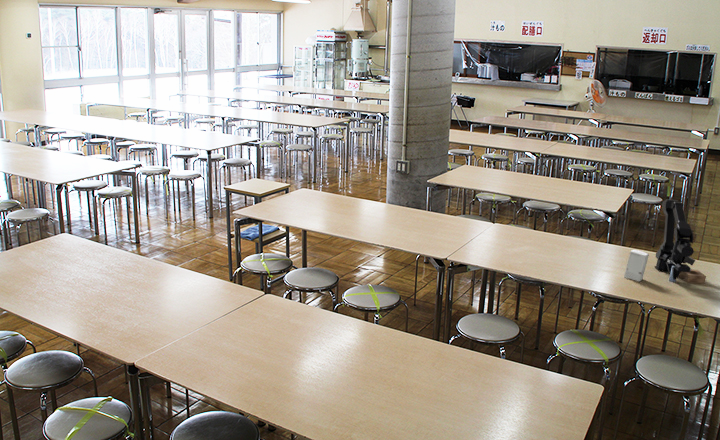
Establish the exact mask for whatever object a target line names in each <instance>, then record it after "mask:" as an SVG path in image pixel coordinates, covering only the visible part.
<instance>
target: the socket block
mask: <svg viewBox="0 0 720 440" xmlns="http://www.w3.org/2000/svg"><path fill="white" fill-rule="evenodd" d="M678 277H680V278H681V279H682V280H683V281H685V282H686V283H690V284H691V283H694V284H706V283H705V282H706V279H707V276H706V275H705V274H703V273H702V272H701V271H700V270H698V269H692V268H691V270H690V272H681V273H680V274H679V275H678Z"/></svg>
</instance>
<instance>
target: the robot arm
mask: <svg viewBox="0 0 720 440" xmlns="http://www.w3.org/2000/svg"><path fill="white" fill-rule="evenodd" d="M661 206H662V212H663V214H664V215H665V220H664V234H663V242H662V243H661V244H660V245H659V249H658V250H657V251H656V253H655V258H656V259H657V260H656V265H654V268H655V269H656V270H657V271H658V272H667V273H668V274H669V275H670V273H671V268H672V273H673V279H674V280H675V279H676V280H677V278H678V277H679V274H680V273H681V272H690V270H691V269H692V268H691V267H690V266H693V265H695V262H696V259H694V258H693V257H692V255H693V254H694V251H695V250H694V248H693V247H692V245H691V244H693V243H694V239H695V238H694V233H693V232H694V231H693V230H692V226H691V225H690V224H689V223H688V222H687V219H686V215H685V211H684V203H683V202H681V201H679V200H678V199H677V200H676V199H669V198H668V199H667V198H665V200H663V201H662V205H661ZM674 239H675V240H674ZM688 264H689V265H690V266H689V265H688ZM672 266H675V267H672Z"/></svg>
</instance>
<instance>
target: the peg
mask: <svg viewBox="0 0 720 440" xmlns="http://www.w3.org/2000/svg"><path fill="white" fill-rule="evenodd" d="M672 267H675V266H672ZM668 281H669V282H671V283H675V282H676V281H677V278H676V279H675V280H674V279H673V273H672V268H671V273H670V274H669V276H668Z"/></svg>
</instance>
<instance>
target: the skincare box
mask: <svg viewBox="0 0 720 440" xmlns="http://www.w3.org/2000/svg"><path fill="white" fill-rule="evenodd" d="M649 255H650V253H648V252H645V251H642V250H638V249H632V250H630V252H629V256H628V259H627V263H626V267H625V272H624V274H623V275H624V277H623V278H625V279H628V280H633V281H635V282H641V281H642V280H643V279H644V275H645V271H646V267H647V264H648V260H649V257H650V256H649Z"/></svg>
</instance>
